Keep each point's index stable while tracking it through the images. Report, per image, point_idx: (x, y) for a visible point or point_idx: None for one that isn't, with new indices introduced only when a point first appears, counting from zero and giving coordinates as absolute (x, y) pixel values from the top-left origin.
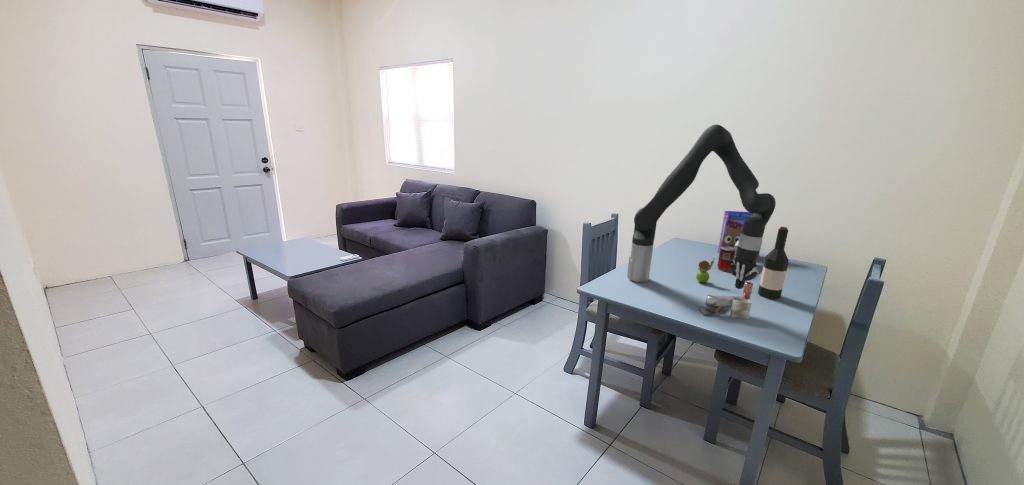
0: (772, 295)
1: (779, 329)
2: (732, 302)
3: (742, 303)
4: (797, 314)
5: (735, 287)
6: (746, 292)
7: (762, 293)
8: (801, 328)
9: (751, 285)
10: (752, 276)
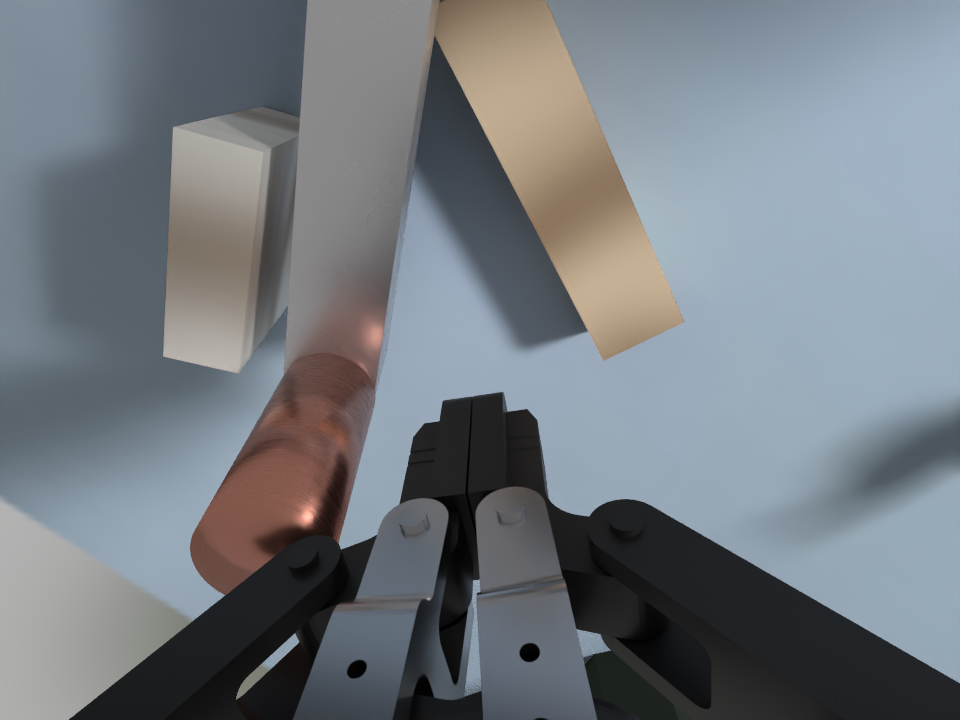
0: None
1: (42, 397)
2: (270, 145)
3: (173, 235)
4: None
5: (501, 393)
6: (267, 412)
7: None
8: (91, 555)
9: (200, 541)
10: (78, 716)
